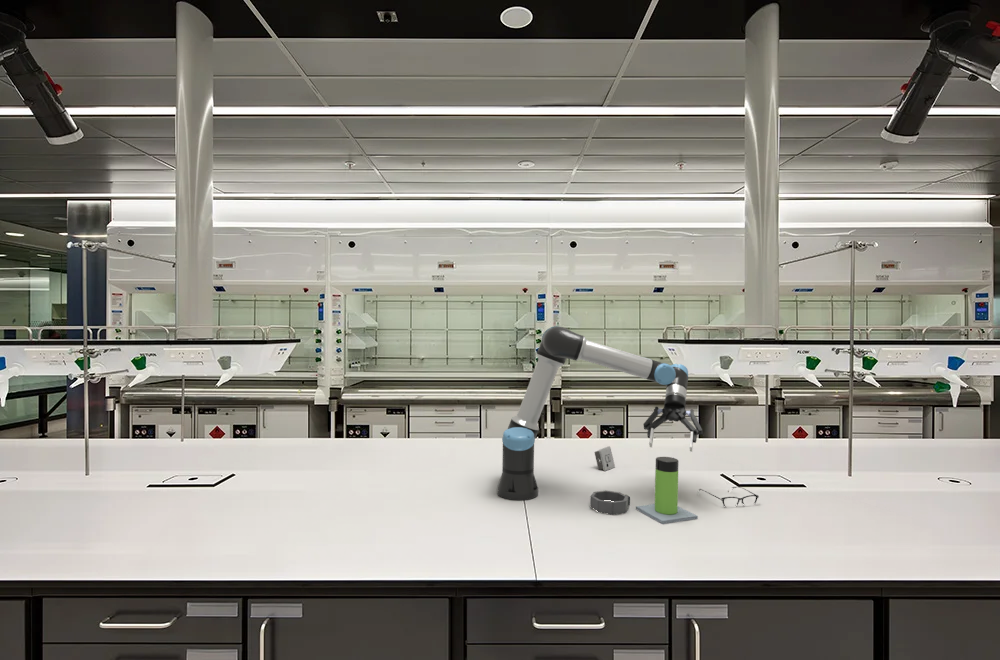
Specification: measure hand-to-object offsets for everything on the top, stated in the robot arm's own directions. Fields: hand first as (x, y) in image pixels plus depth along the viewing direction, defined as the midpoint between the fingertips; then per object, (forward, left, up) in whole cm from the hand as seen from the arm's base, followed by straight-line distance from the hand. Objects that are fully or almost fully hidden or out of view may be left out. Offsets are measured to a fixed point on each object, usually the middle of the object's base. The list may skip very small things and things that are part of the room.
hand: (670, 447), depth 183 cm
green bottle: (-7, -7, -19) cm, 22 cm away
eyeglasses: (+24, -2, -21) cm, 32 cm away
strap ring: (-22, +4, -20) cm, 30 cm away
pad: (-7, -7, -20) cm, 23 cm away
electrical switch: (+4, +48, -20) cm, 52 cm away
